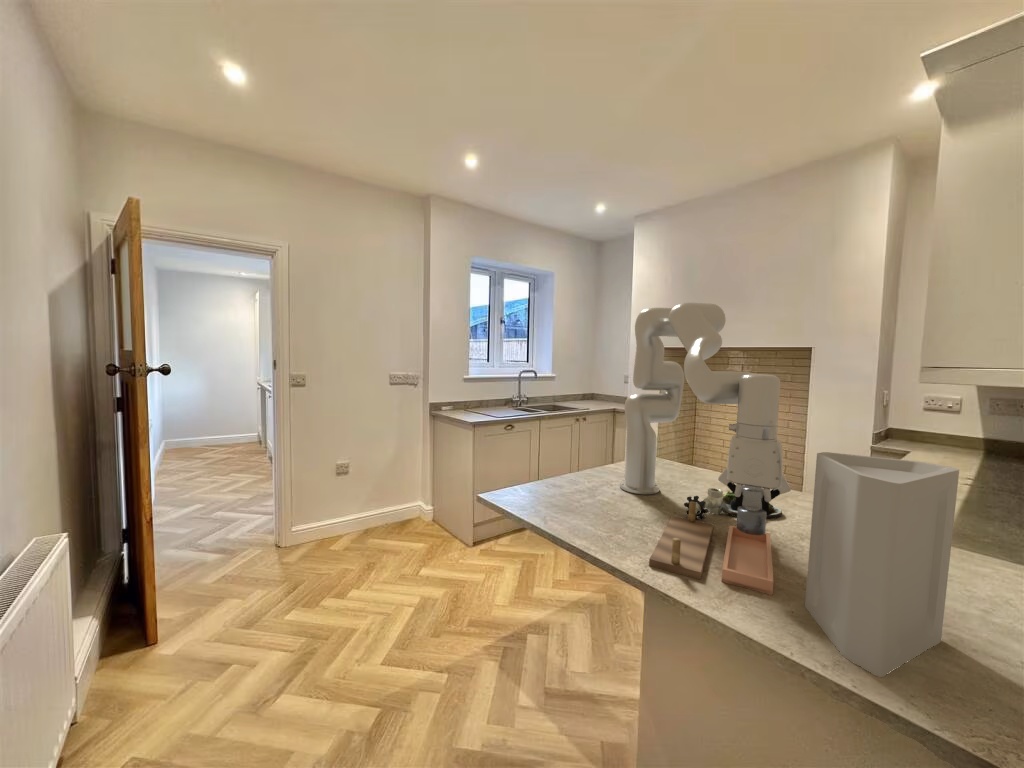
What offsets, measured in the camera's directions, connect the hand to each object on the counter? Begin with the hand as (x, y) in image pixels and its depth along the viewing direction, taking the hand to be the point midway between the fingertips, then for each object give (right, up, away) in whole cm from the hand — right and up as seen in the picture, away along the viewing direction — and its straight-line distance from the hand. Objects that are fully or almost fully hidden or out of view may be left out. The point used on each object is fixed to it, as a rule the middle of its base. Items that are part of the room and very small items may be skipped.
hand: (751, 514), depth 90 cm
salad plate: (+16, -9, +32) cm, 37 cm away
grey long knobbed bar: (0, 0, 0) cm, 0 cm away
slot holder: (0, -10, +1) cm, 10 cm away
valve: (+3, -9, +27) cm, 28 cm away
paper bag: (+5, -13, -21) cm, 25 cm away
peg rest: (-11, -10, +8) cm, 17 cm away
